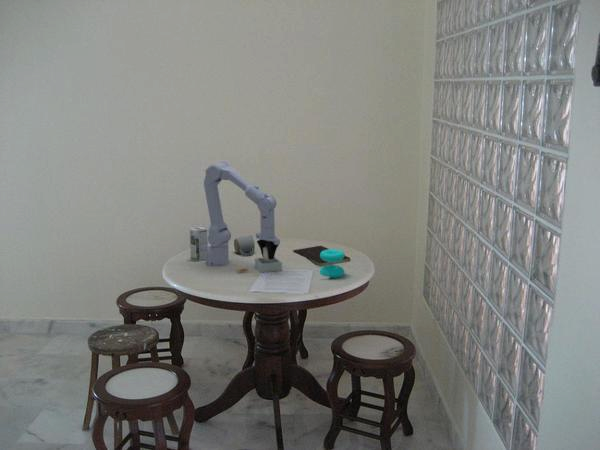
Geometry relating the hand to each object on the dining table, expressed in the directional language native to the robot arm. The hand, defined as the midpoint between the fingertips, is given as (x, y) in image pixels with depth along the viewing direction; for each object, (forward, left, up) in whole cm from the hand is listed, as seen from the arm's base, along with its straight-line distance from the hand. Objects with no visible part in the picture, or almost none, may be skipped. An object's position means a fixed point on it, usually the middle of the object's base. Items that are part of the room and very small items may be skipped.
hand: (268, 257), depth 274 cm
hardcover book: (+28, +12, -7) cm, 31 cm away
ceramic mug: (-2, +30, -6) cm, 31 cm away
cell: (0, 0, -2) cm, 2 cm away
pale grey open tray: (0, 0, -5) cm, 5 cm away
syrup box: (-24, +26, -6) cm, 36 cm away
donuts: (+23, -14, -6) cm, 28 cm away
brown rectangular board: (-5, 0, -6) cm, 8 cm away
